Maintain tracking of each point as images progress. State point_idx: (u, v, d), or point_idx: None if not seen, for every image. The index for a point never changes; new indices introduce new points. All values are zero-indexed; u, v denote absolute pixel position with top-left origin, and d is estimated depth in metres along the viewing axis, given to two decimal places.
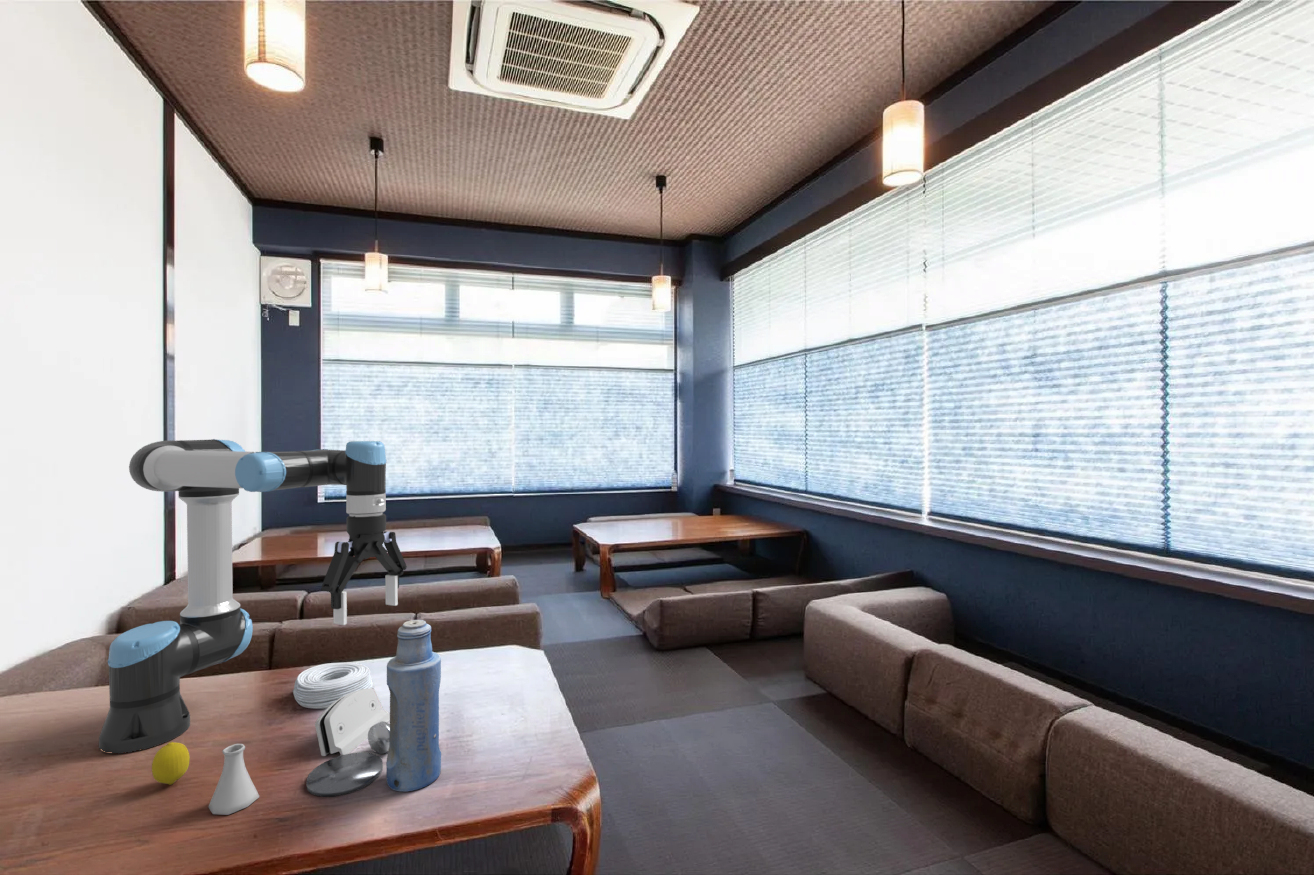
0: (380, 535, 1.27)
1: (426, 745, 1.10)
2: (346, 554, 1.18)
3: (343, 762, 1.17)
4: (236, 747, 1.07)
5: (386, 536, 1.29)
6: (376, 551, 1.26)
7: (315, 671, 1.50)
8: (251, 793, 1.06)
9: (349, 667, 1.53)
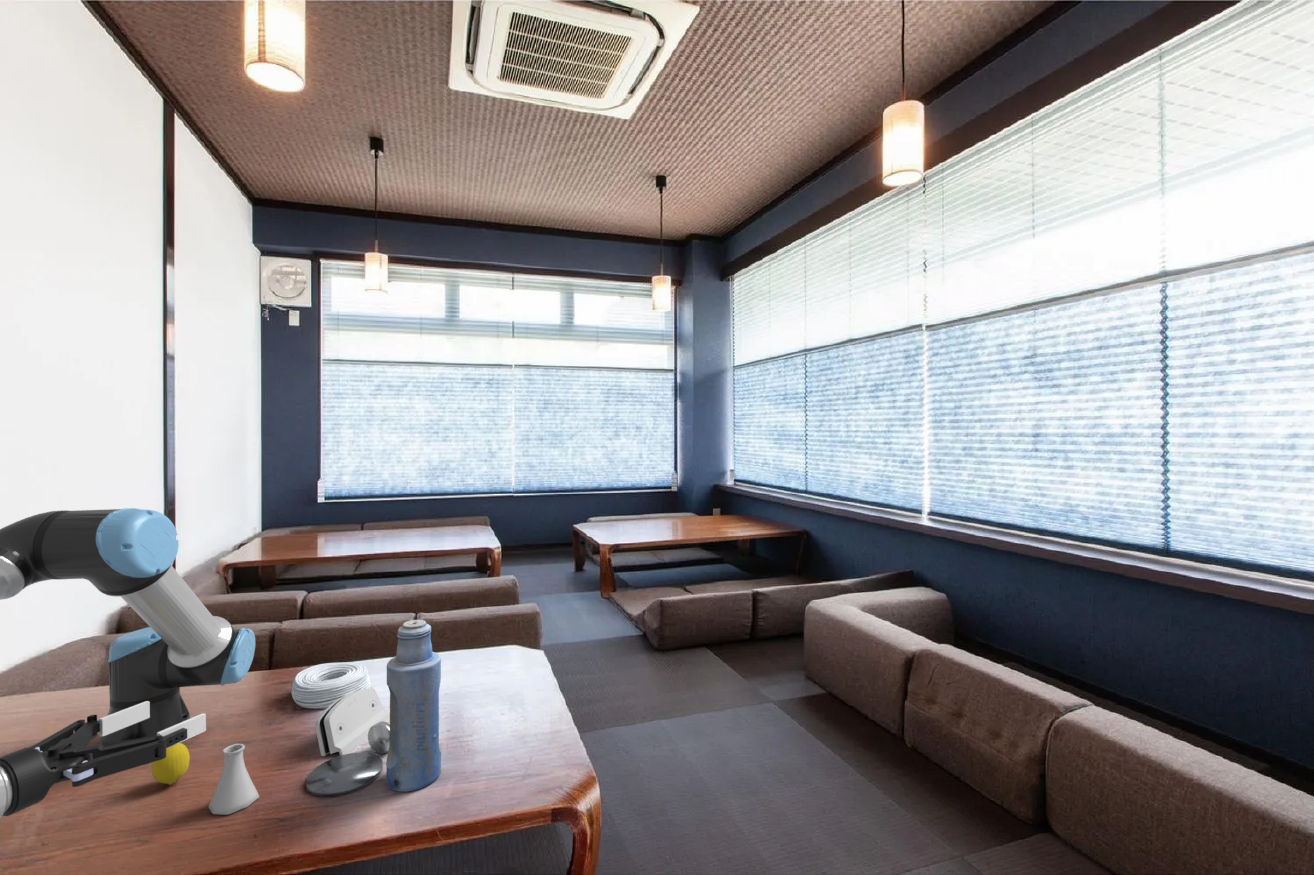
0: None
1: (426, 745, 1.10)
2: None
3: (343, 762, 1.17)
4: (236, 747, 1.07)
5: None
6: None
7: (313, 671, 1.50)
8: (251, 792, 1.06)
9: (347, 667, 1.53)
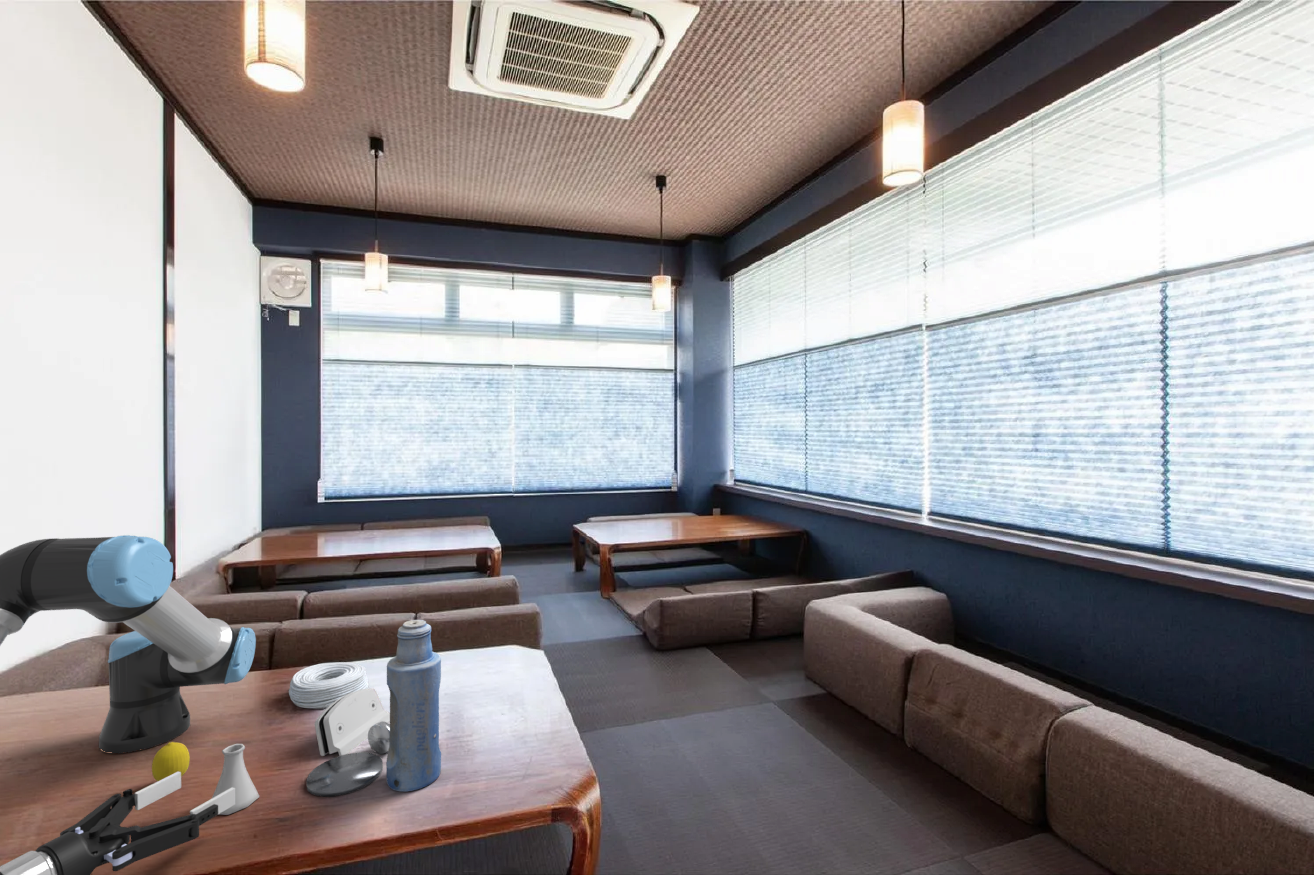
0: None
1: (426, 745, 1.10)
2: None
3: (343, 762, 1.17)
4: (236, 747, 1.07)
5: None
6: None
7: (311, 671, 1.51)
8: (251, 793, 1.06)
9: (345, 667, 1.53)
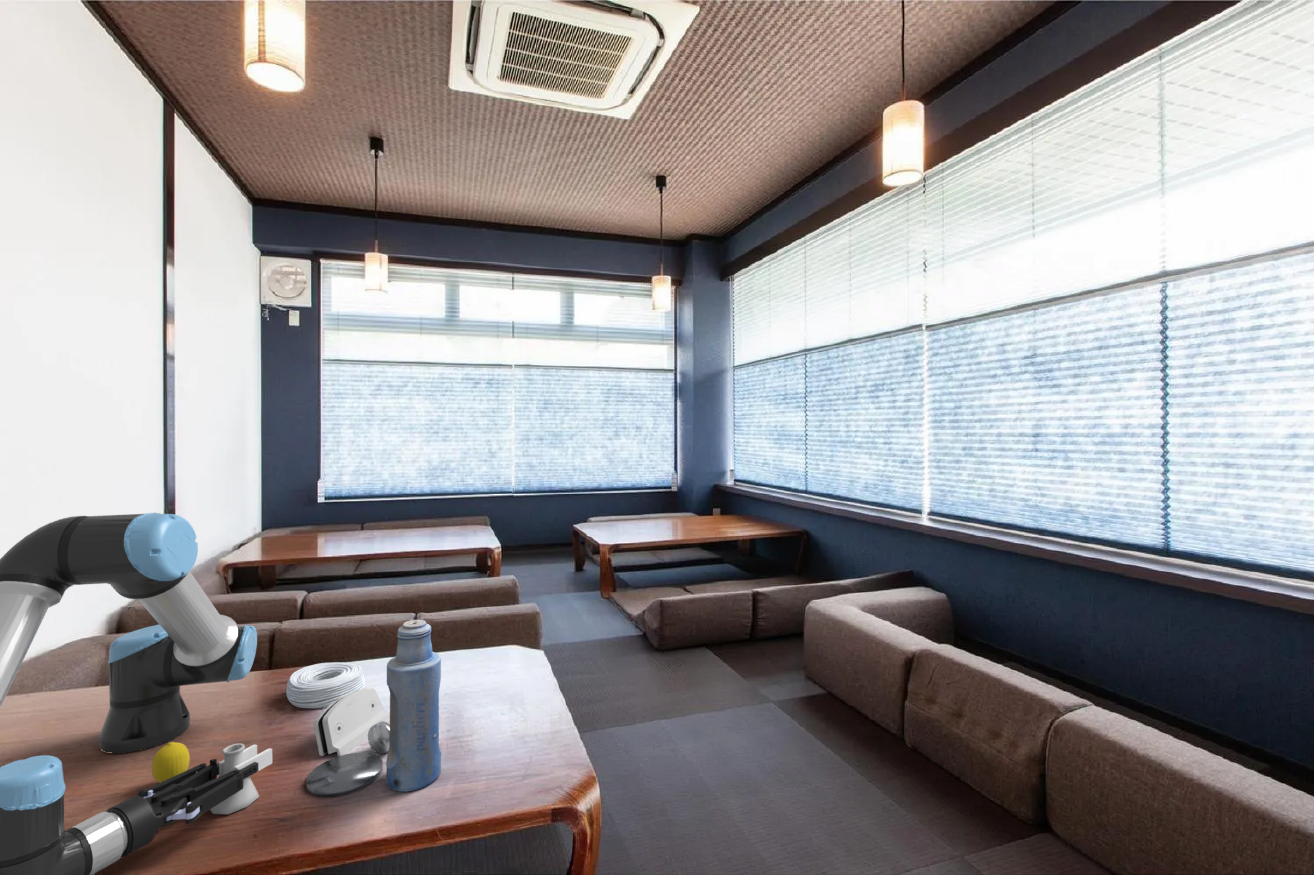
0: None
1: (426, 745, 1.10)
2: None
3: (343, 762, 1.17)
4: (236, 747, 1.07)
5: None
6: None
7: (308, 671, 1.51)
8: (251, 792, 1.06)
9: (342, 667, 1.53)
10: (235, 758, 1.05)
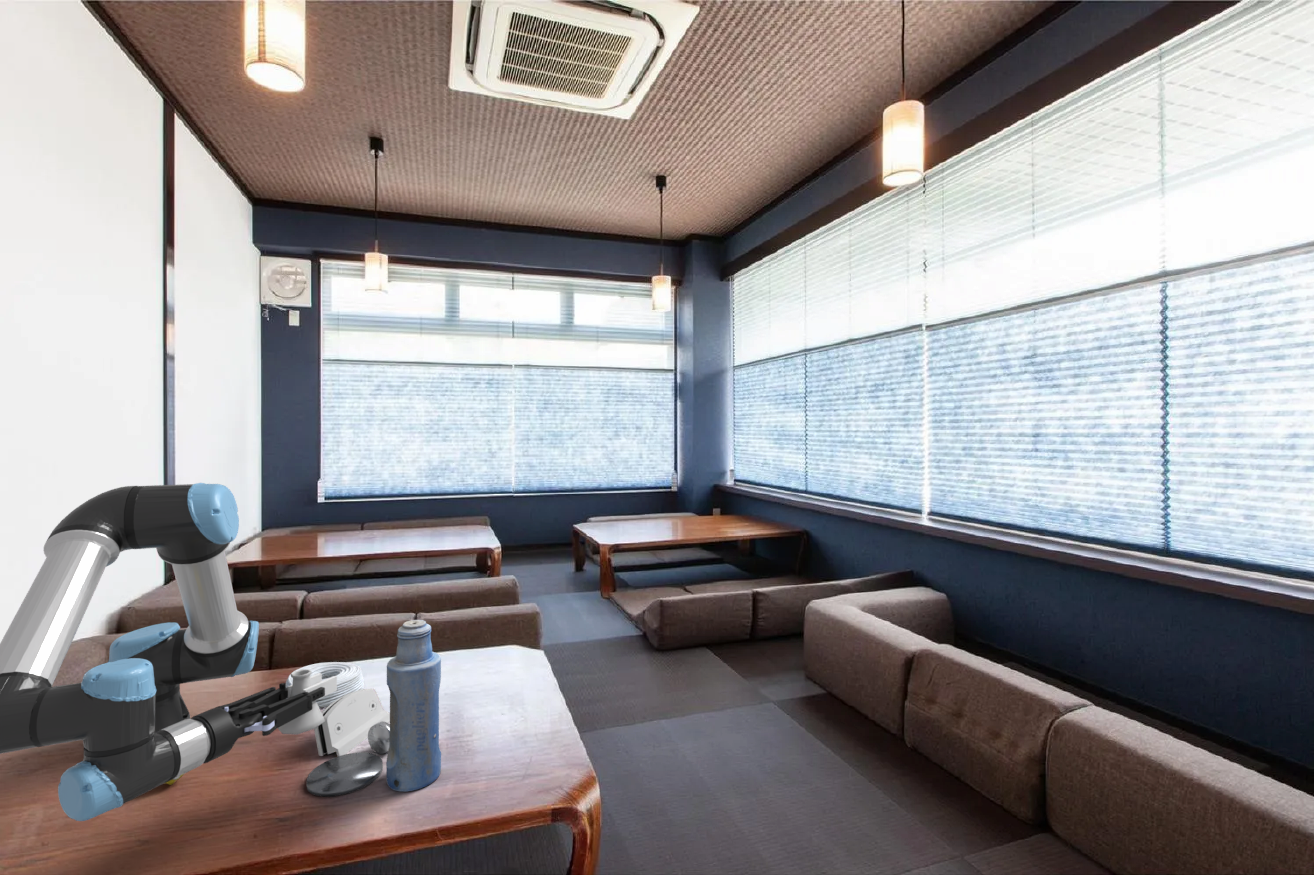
0: None
1: (426, 745, 1.10)
2: None
3: (343, 762, 1.17)
4: (303, 672, 1.10)
5: None
6: None
7: None
8: (317, 716, 1.09)
9: (341, 667, 1.53)
10: (303, 682, 1.08)
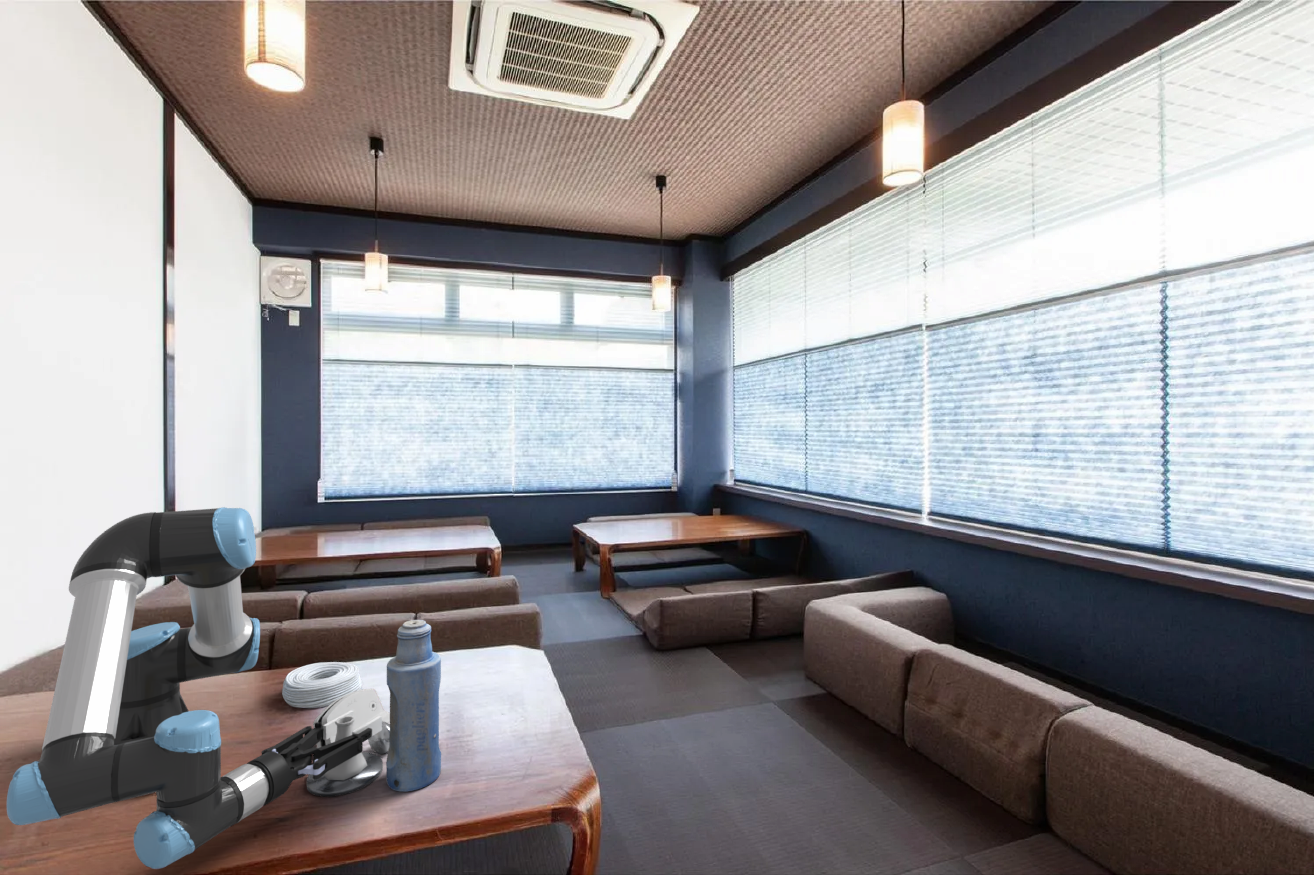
0: None
1: (426, 745, 1.10)
2: None
3: None
4: (346, 719, 1.15)
5: None
6: None
7: (304, 670, 1.51)
8: (360, 761, 1.14)
9: (338, 667, 1.54)
10: (347, 729, 1.13)
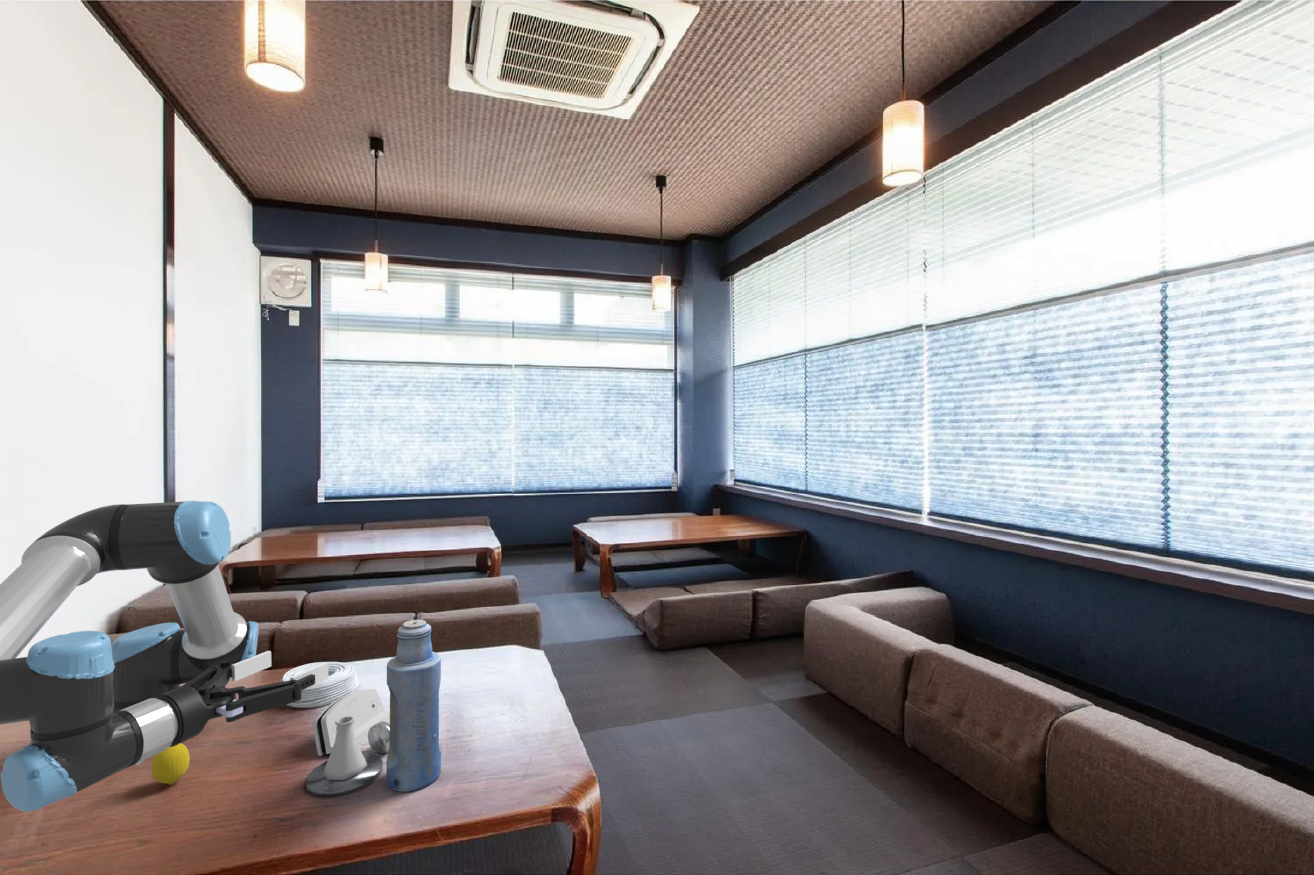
0: None
1: (426, 745, 1.10)
2: None
3: None
4: (346, 719, 1.15)
5: None
6: None
7: (301, 670, 1.51)
8: (360, 761, 1.14)
9: (335, 666, 1.54)
10: (347, 729, 1.13)
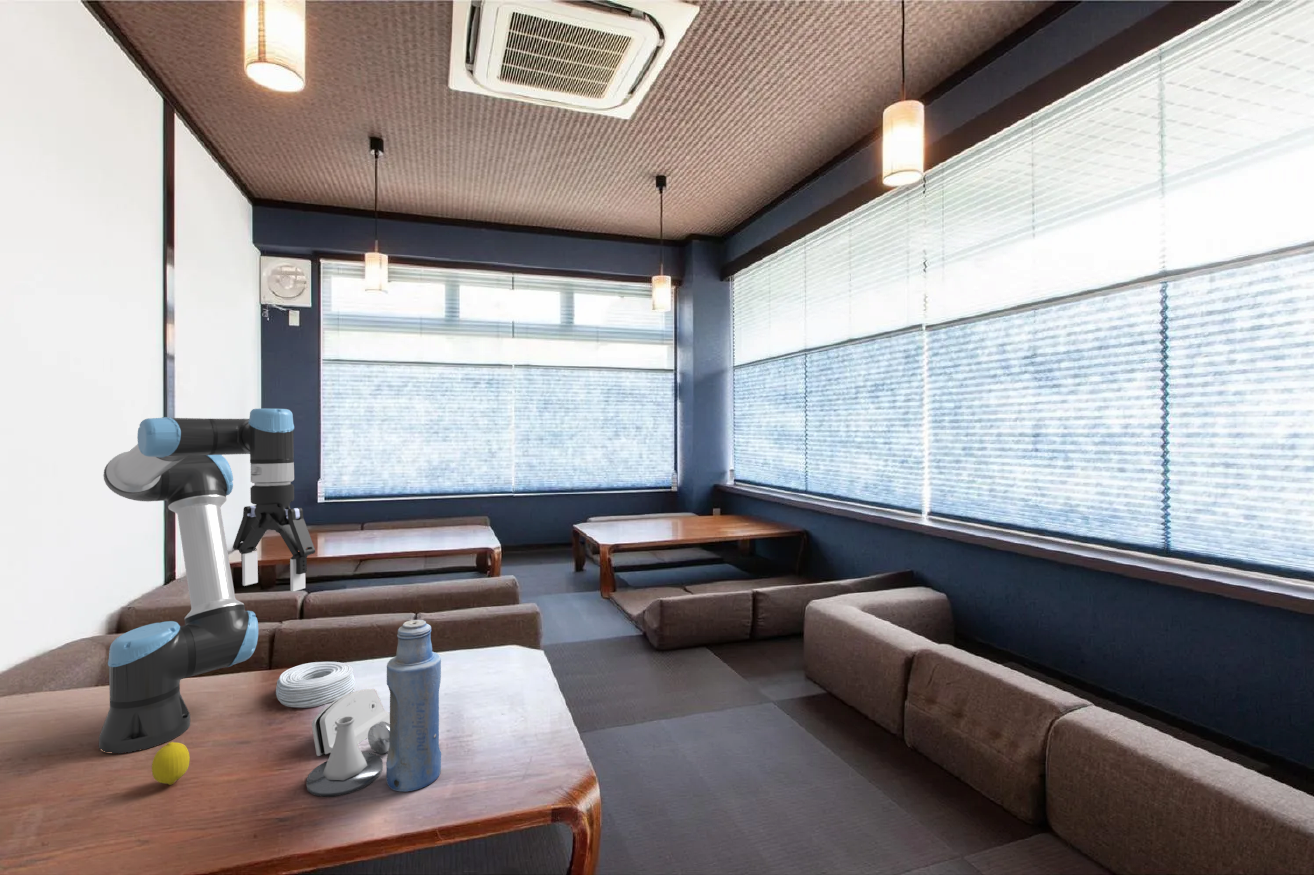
0: (277, 509, 1.19)
1: (426, 745, 1.10)
2: (245, 518, 1.22)
3: None
4: (346, 719, 1.15)
5: None
6: None
7: (298, 670, 1.51)
8: (360, 761, 1.14)
9: (332, 666, 1.54)
10: (347, 729, 1.13)
